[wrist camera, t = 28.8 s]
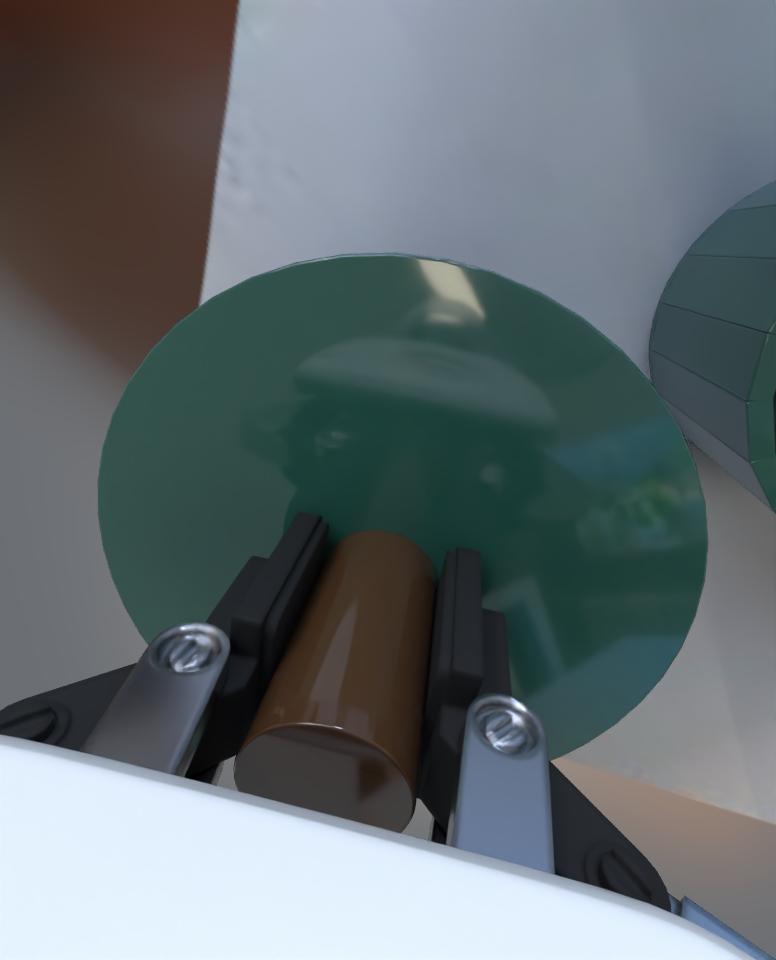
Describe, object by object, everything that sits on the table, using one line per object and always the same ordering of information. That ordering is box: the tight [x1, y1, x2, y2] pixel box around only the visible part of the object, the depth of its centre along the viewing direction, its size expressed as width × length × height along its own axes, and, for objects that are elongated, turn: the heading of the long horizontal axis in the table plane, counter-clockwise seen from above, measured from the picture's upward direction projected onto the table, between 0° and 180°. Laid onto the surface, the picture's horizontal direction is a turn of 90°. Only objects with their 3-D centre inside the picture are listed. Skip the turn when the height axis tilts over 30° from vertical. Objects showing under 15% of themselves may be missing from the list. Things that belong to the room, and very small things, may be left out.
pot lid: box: [98, 253, 708, 833], centre depth 11 cm, size 15×15×7 cm
